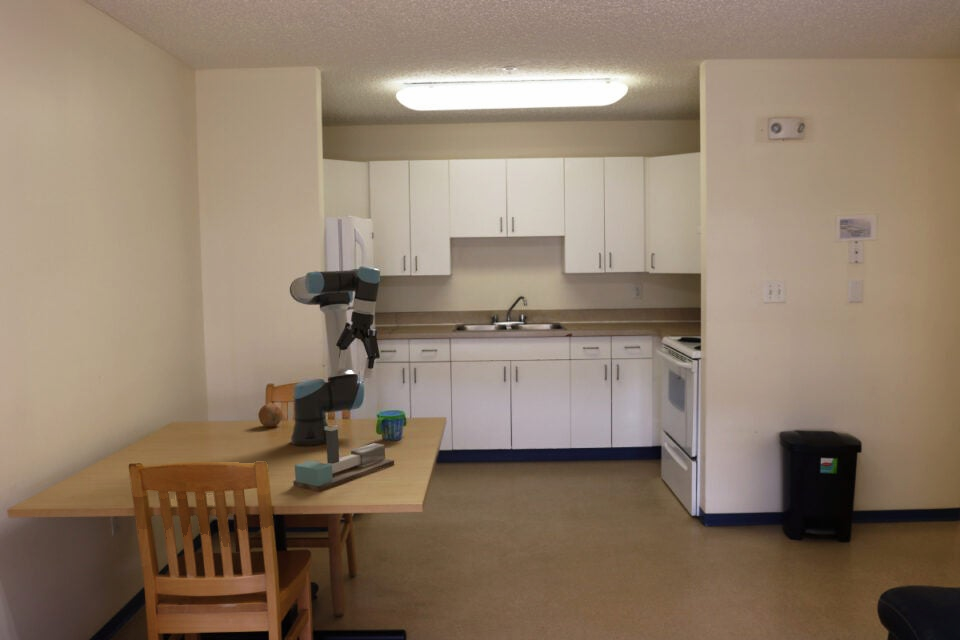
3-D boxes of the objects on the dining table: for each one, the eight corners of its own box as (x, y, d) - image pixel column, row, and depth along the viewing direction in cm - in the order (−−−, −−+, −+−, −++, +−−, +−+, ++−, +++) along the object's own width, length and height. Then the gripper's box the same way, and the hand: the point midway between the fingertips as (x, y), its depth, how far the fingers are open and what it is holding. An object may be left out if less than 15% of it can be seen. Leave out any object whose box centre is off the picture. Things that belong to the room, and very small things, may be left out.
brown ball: (276, 423, 333) (274, 400, 332) (287, 426, 325) (286, 402, 324) (255, 427, 326) (253, 403, 325) (266, 430, 319) (264, 406, 318)
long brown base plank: (293, 485, 241) (292, 465, 240) (367, 460, 268) (367, 441, 268) (320, 491, 234) (319, 470, 233) (394, 464, 261) (393, 445, 261)
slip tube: (311, 476, 241) (309, 431, 240) (360, 460, 259) (358, 417, 258) (318, 478, 239) (316, 432, 238) (367, 461, 257) (365, 418, 256)
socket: (295, 481, 240) (294, 465, 240) (310, 476, 245) (309, 460, 245) (318, 486, 234) (317, 469, 234) (332, 481, 239) (331, 464, 239)
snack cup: (386, 445, 289) (385, 418, 288) (367, 441, 295) (366, 414, 295) (416, 436, 301) (415, 410, 300) (397, 433, 307) (396, 407, 306)
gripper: (396, 319, 260) (386, 381, 262) (348, 306, 276) (339, 364, 278) (379, 318, 254) (369, 381, 256) (331, 305, 270) (323, 364, 272)
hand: (354, 372), depth 267 cm, fingers open, 13 cm apart
